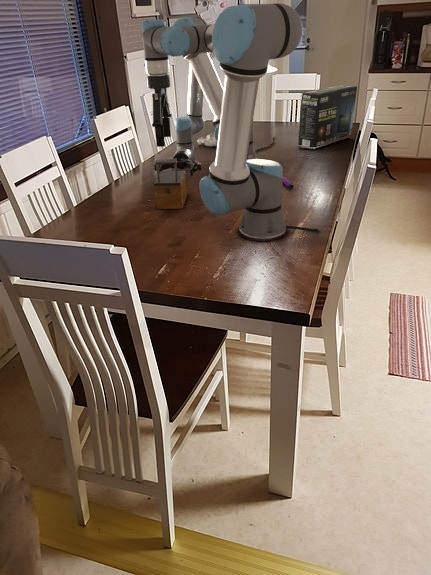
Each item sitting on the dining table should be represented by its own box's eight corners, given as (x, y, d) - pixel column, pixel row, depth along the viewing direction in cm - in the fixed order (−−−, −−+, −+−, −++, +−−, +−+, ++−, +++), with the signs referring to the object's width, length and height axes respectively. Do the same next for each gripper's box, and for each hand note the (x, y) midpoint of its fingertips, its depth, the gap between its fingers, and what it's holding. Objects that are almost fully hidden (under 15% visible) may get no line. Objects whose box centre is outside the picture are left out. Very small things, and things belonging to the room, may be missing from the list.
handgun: (261, 176, 200) (261, 171, 199) (278, 174, 201) (278, 169, 200) (275, 191, 183) (275, 186, 182) (294, 188, 184) (294, 184, 183)
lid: (180, 185, 165) (178, 160, 160) (154, 185, 166) (151, 161, 161) (185, 173, 177) (183, 149, 173) (160, 173, 178) (158, 150, 174)
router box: (314, 151, 231) (318, 94, 217) (296, 148, 237) (299, 92, 224) (352, 138, 251) (358, 85, 238) (335, 135, 258) (340, 83, 245)
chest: (182, 208, 170) (180, 185, 166) (156, 208, 171) (154, 185, 166) (186, 195, 182) (185, 173, 178) (163, 195, 183) (160, 173, 178)
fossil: (220, 142, 238) (201, 123, 241) (210, 159, 244) (191, 141, 248) (238, 140, 252) (219, 123, 255) (227, 157, 258) (210, 139, 261)
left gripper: (210, 166, 207) (205, 181, 189) (155, 167, 209) (146, 182, 191) (209, 149, 203) (204, 163, 185) (154, 150, 205) (143, 164, 187)
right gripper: (153, 70, 159) (159, 133, 170) (138, 79, 138) (146, 150, 149) (174, 69, 159) (179, 132, 170) (163, 79, 138) (169, 150, 149)
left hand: (174, 172), depth 188 cm, fingers open, 13 cm apart
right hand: (164, 141), depth 159 cm, fingers open, 13 cm apart
